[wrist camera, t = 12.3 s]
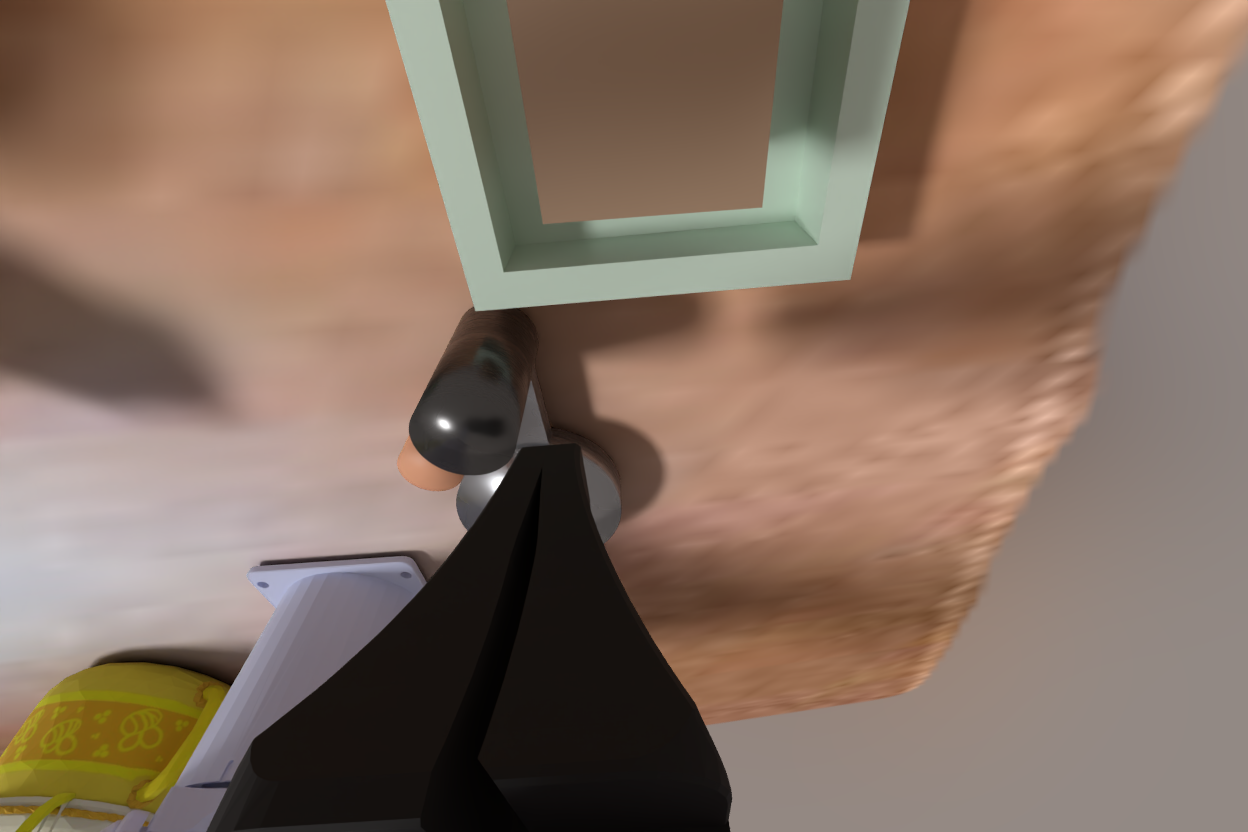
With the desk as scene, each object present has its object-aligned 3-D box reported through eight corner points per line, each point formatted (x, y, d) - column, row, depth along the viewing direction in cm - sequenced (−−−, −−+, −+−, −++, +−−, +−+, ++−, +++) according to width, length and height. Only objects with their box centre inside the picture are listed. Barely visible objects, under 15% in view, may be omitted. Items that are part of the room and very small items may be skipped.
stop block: (715, 152, 13) (762, 207, 9) (562, 164, 13) (543, 224, 9) (724, -59, 10) (794, -111, 6) (535, -43, 11) (492, -85, 7)
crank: (628, 528, 22) (632, 635, 18) (489, 541, 23) (464, 649, 19) (588, 290, 15) (582, 381, 11) (388, 313, 16) (313, 410, 12)
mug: (207, 735, 36) (67, 983, 27) (35, 679, 31) (-222, 971, 21) (324, 692, 33) (208, 964, 23) (153, 617, 27) (-98, 942, 17)
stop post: (491, 421, 19) (471, 488, 16) (439, 424, 19) (410, 493, 16) (477, 376, 17) (453, 442, 15) (422, 381, 18) (387, 447, 15)
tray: (820, 247, 15) (850, 279, 13) (491, 276, 15) (475, 311, 13) (912, -313, 9) (997, -408, 7) (358, -247, 9) (293, -320, 7)
